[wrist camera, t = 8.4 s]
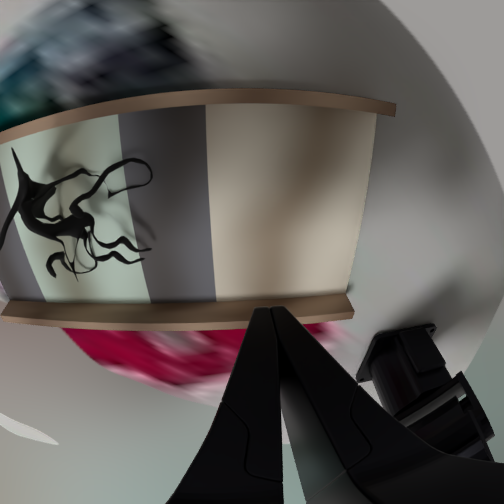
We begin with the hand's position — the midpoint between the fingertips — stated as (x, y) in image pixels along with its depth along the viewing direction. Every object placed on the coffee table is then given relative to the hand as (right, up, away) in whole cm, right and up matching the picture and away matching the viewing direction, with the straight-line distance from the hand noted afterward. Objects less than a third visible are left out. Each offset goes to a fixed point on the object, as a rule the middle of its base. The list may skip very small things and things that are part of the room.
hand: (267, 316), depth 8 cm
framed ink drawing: (-7, +4, +6) cm, 9 cm away
